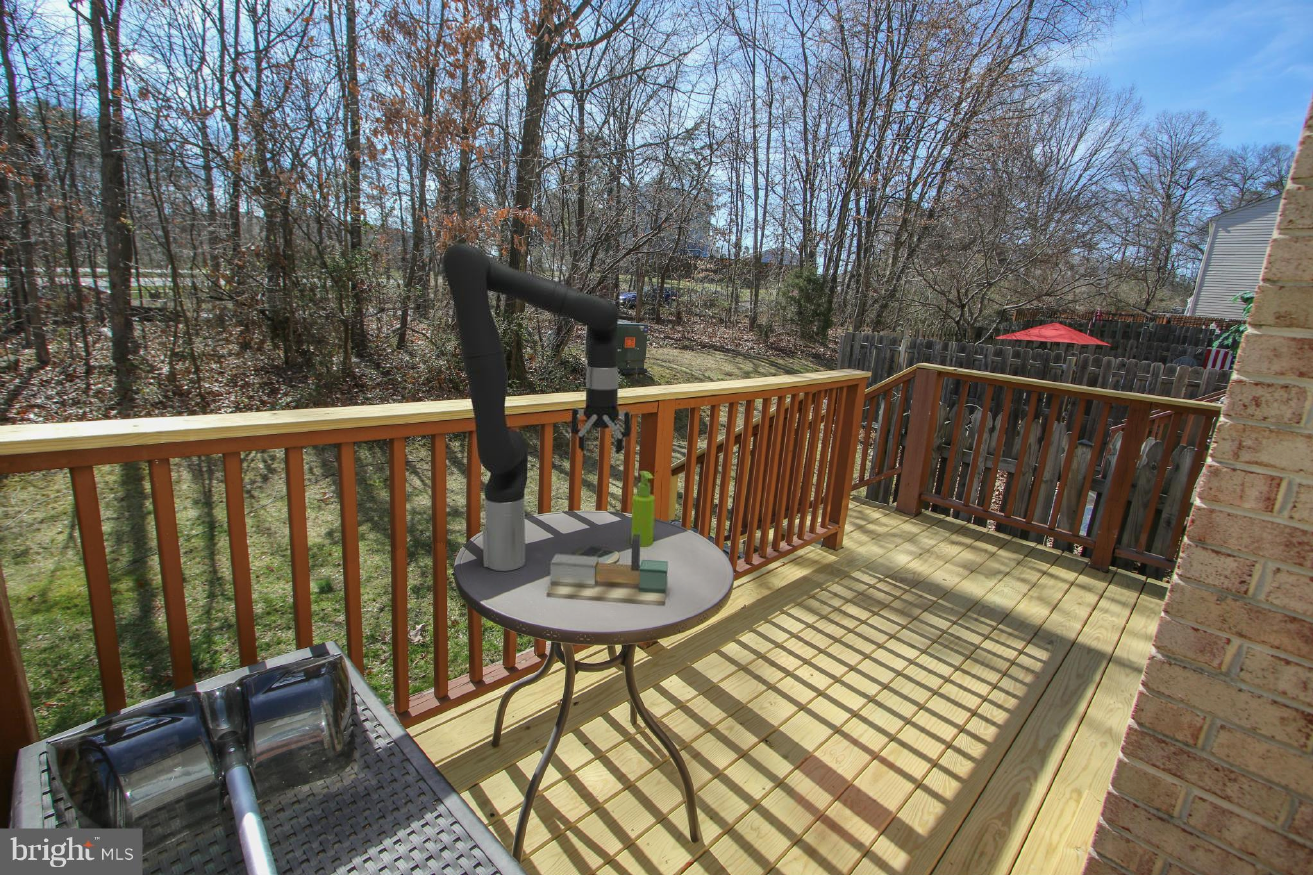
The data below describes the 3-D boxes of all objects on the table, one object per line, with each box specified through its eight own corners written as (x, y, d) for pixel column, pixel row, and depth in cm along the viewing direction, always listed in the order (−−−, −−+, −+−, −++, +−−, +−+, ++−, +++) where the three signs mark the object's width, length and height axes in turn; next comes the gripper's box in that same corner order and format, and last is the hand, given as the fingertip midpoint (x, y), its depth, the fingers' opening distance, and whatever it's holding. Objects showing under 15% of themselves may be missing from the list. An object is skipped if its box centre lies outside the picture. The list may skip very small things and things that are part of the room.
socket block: (638, 591, 137) (639, 569, 135) (640, 581, 141) (641, 559, 140) (665, 593, 136) (666, 570, 135) (666, 583, 141) (667, 561, 140)
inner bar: (575, 578, 138) (576, 535, 136) (578, 573, 141) (578, 530, 139) (655, 584, 137) (656, 540, 135) (656, 578, 140) (657, 535, 138)
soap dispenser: (637, 549, 161) (639, 477, 157) (628, 539, 168) (630, 469, 163) (657, 546, 164) (660, 475, 159) (647, 537, 170) (650, 468, 165)
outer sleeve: (550, 585, 138) (550, 562, 137) (555, 575, 143) (555, 553, 142) (594, 588, 137) (594, 565, 136) (598, 578, 142) (598, 556, 141)
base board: (546, 596, 135) (546, 592, 135) (559, 572, 146) (559, 568, 146) (664, 605, 133) (664, 601, 133) (667, 580, 145) (667, 576, 144)
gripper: (568, 386, 141) (568, 454, 145) (630, 389, 140) (628, 457, 144) (575, 381, 149) (575, 446, 152) (633, 384, 148) (631, 449, 151)
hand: (600, 451), depth 148 cm, fingers open, 8 cm apart
